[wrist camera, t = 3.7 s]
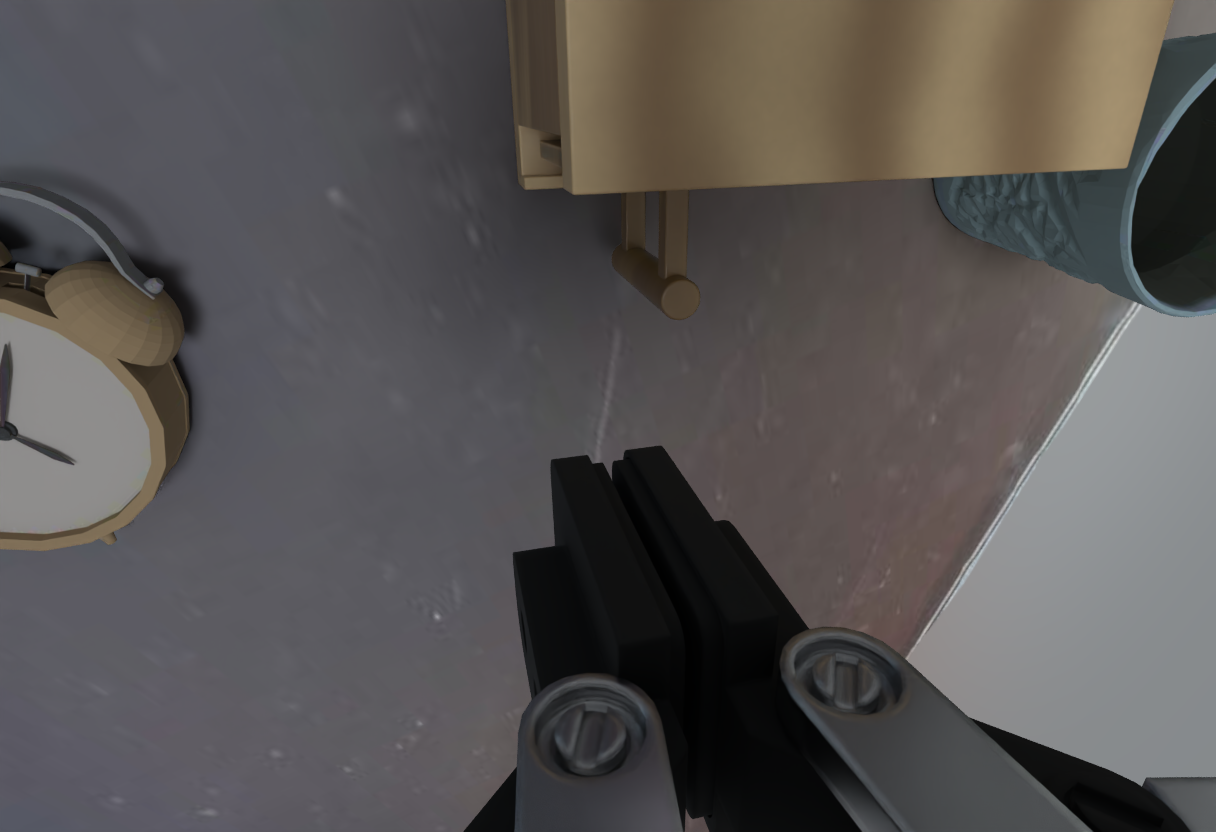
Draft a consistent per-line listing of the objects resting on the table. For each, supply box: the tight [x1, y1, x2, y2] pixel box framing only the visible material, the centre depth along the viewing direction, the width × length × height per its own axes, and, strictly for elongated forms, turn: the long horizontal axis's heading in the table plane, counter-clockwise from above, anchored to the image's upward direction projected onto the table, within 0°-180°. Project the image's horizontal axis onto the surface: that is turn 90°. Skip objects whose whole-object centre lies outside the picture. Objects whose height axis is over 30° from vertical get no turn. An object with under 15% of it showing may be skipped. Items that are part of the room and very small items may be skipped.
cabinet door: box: [540, 140, 700, 320], centre depth 26 cm, size 8×5×9 cm, turn 91°
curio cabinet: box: [506, 0, 1174, 195], centre depth 24 cm, size 18×12×13 cm, turn 91°
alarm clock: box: [0, 181, 190, 551], centre depth 27 cm, size 11×5×15 cm
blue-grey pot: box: [933, 33, 1216, 317], centre depth 30 cm, size 10×10×12 cm
